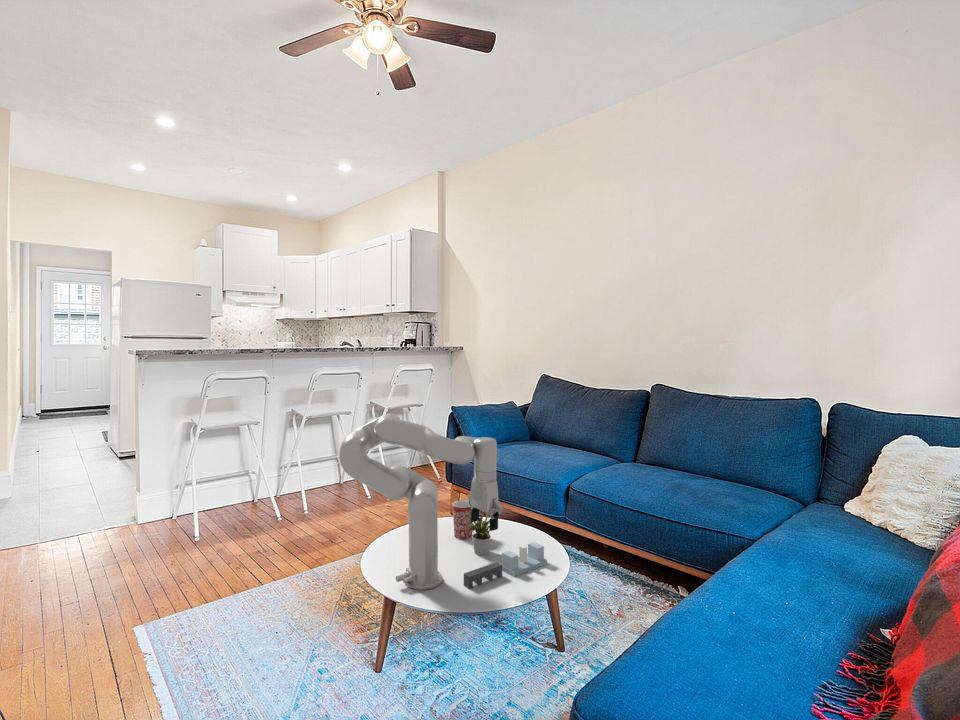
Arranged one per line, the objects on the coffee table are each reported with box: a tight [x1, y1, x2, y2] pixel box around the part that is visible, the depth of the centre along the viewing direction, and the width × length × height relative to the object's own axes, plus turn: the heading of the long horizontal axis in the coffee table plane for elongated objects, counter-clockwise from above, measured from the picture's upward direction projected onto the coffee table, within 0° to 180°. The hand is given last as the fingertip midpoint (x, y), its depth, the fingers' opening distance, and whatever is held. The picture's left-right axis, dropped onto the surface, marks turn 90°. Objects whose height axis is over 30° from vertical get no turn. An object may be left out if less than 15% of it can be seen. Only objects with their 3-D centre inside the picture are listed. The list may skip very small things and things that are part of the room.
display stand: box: [499, 541, 548, 577], centre depth 178 cm, size 16×8×7 cm, turn 127°
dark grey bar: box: [463, 561, 503, 590], centre depth 167 cm, size 14×3×4 cm, turn 127°
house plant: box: [464, 511, 491, 556], centre depth 189 cm, size 14×14×16 cm
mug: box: [451, 499, 484, 540], centre depth 205 cm, size 13×9×14 cm
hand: (484, 525), depth 167 cm, fingers open, 9 cm apart
